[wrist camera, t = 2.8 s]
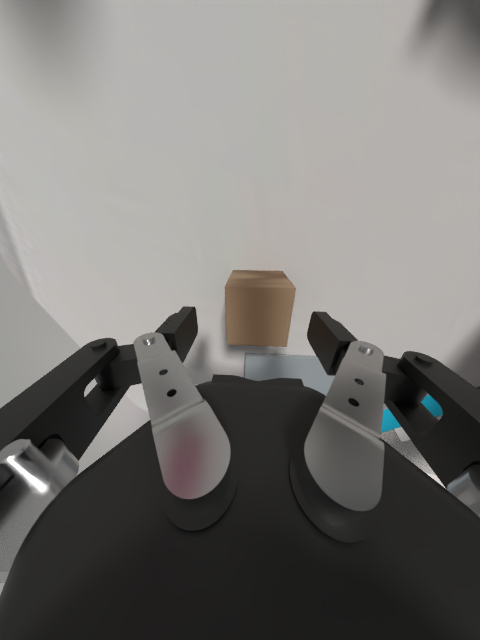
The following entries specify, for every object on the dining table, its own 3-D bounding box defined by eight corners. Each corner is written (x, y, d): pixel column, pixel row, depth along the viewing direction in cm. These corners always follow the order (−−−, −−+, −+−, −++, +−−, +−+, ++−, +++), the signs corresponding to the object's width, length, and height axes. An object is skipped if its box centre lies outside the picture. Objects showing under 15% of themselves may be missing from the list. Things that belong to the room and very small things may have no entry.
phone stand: (350, 450, 32) (355, 461, 30) (320, 415, 28) (324, 426, 26) (485, 413, 25) (500, 424, 24) (471, 361, 21) (487, 370, 20)
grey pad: (357, 358, 21) (359, 360, 21) (329, 425, 28) (330, 429, 27) (245, 353, 22) (245, 355, 22) (243, 420, 29) (243, 423, 28)
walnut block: (282, 270, 17) (295, 288, 12) (277, 315, 20) (286, 346, 14) (233, 270, 18) (224, 286, 12) (233, 314, 20) (226, 344, 14)
